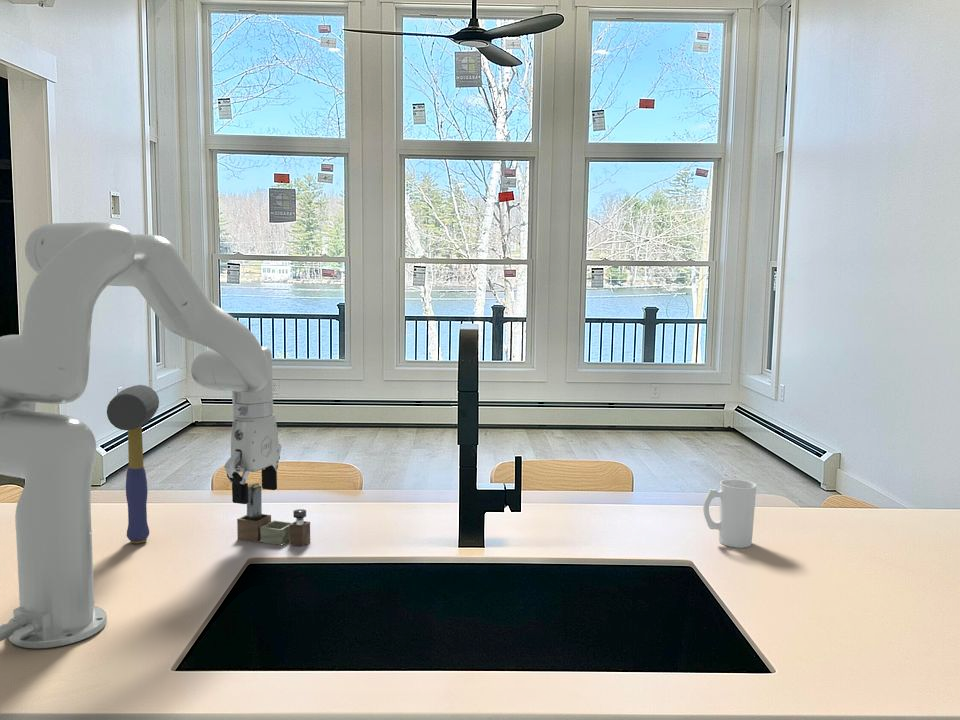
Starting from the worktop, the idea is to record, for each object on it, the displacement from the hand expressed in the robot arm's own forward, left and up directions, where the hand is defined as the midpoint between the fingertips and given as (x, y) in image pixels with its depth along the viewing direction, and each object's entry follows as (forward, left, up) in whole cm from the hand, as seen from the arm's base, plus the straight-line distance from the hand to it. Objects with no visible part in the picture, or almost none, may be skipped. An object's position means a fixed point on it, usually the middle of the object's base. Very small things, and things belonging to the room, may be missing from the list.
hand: (255, 495), depth 156 cm
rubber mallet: (-11, +19, -8) cm, 23 cm away
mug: (+30, -88, -8) cm, 94 cm away
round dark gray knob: (0, -10, -8) cm, 13 cm away
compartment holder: (0, -5, -8) cm, 10 cm away
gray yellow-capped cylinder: (0, 0, -8) cm, 8 cm away
